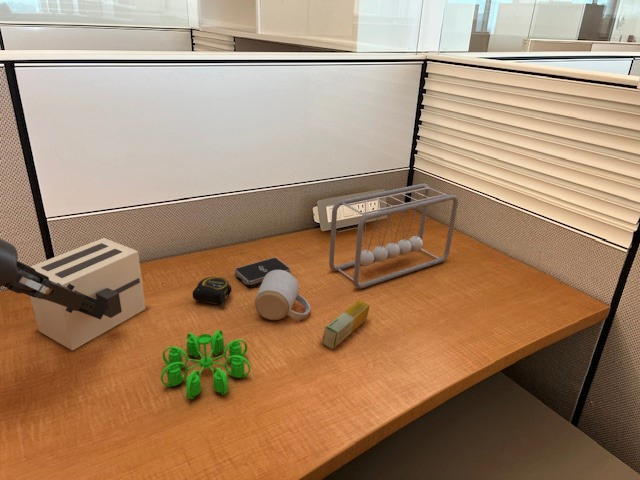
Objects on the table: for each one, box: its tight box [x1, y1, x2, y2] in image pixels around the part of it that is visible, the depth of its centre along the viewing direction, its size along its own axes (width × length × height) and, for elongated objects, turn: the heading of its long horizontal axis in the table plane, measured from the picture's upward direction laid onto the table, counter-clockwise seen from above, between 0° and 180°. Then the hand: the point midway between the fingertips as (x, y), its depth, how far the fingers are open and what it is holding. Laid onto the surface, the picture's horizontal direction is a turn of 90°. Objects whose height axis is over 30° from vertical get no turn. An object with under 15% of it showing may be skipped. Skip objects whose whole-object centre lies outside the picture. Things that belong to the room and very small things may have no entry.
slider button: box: [96, 288, 122, 318], centre depth 85 cm, size 3×2×4 cm
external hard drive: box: [234, 257, 291, 288], centre depth 109 cm, size 7×11×2 cm, turn 126°
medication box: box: [321, 299, 371, 350], centre depth 91 cm, size 12×3×4 cm, turn 144°
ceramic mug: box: [254, 270, 311, 321], centre depth 95 cm, size 11×8×8 cm
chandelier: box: [160, 329, 251, 400], centre depth 79 cm, size 15×15×7 cm
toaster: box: [29, 237, 146, 351], centre depth 89 cm, size 10×16×13 cm, turn 149°
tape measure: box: [192, 276, 232, 306], centre depth 100 cm, size 7×7×4 cm
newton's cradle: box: [328, 183, 459, 290], centre depth 113 cm, size 30×10×18 cm, turn 124°
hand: (102, 311), depth 82 cm, fingers closed
